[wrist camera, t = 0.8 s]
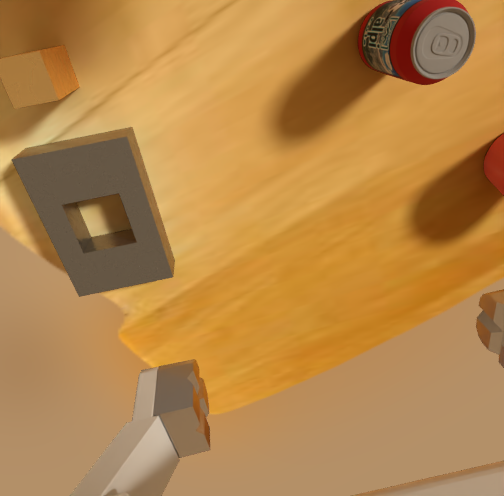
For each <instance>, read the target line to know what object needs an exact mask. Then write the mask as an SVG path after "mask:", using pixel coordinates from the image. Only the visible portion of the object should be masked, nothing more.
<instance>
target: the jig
mask: <svg viewBox="0 0 504 496" xmlns="http://www.w3.org/2000/svg"><path fill="white" fill-rule="evenodd" d="M12 162H13V164H14V166H15V168H16V170H17V172H18V174H19V176H20V178H21V180H22V182H23V184H24V186H25V188H26V190H27V192H28V194H29V196H30V198H31V200H32V202H33V204H34V206H35V208H36V210H37V212H38V214H39V216H40V218H41V220H42V222H43V224H44V226H45V228H46V231H47V233H48V235H49V237H50V239H51V241H52V243H53V245H54V247H55V249H56V251H57V253H58V255H59V257H60V259H61V261H62V263H63V265H64V267H65V269H66V271H67V273H68V275H69V277H70V279H71V281H72V283H73V285H74V287H75V289H76V291H77V293H78V295H79V297H80V296H85V295H90V294H94V293H99V292H104V291H109V290H114V289H119V288H123V287H128V286H133V285H138V284H143V283H147V282H152V281H157V280H162V279H167V278H172V277H173V274H174V262H175V260H174V257H173V254H172V251H171V247H170V244H169V241H168V238H167V235H166V232H165V229H164V225H163V222H162V219H161V216H160V213H159V210H158V207H157V203H156V200H155V197H154V194H153V191H152V188H151V185H150V181H149V178H148V175H147V172H146V169H145V166H144V163H143V159H142V156H141V153H140V150H139V147H138V144H137V141H136V137H135V134H134V131H133V128H132V127H130V128H125V129H120V130H115V131H110V132H105V133H100V134H95V135H90V136H85V137H80V138H75V139H70V140H65V141H60V142H55V143H50V144H45V145H40V146H35V147H30V148H25V149H24V150H23V151H22V152H20V153H19V154H18V155H17V156H15V157H14V158H13V159H12ZM118 193H119V195H120V197H121V200H122V203H123V206H124V208H125V211H126V214H127V217H128V219H129V222H130V225H131V227H132V229H129V230H125V231H120V232H115V233H110V234H105V235H100V236H95V237H91V236H90V233H89V231H88V229H87V227H86V224H85V222H84V220H83V217H82V215H81V213H80V210H79V208H78V206H77V203H76V202H78V201H83V200H88V199H93V198H98V197H103V196H108V195H113V194H118Z"/></svg>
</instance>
